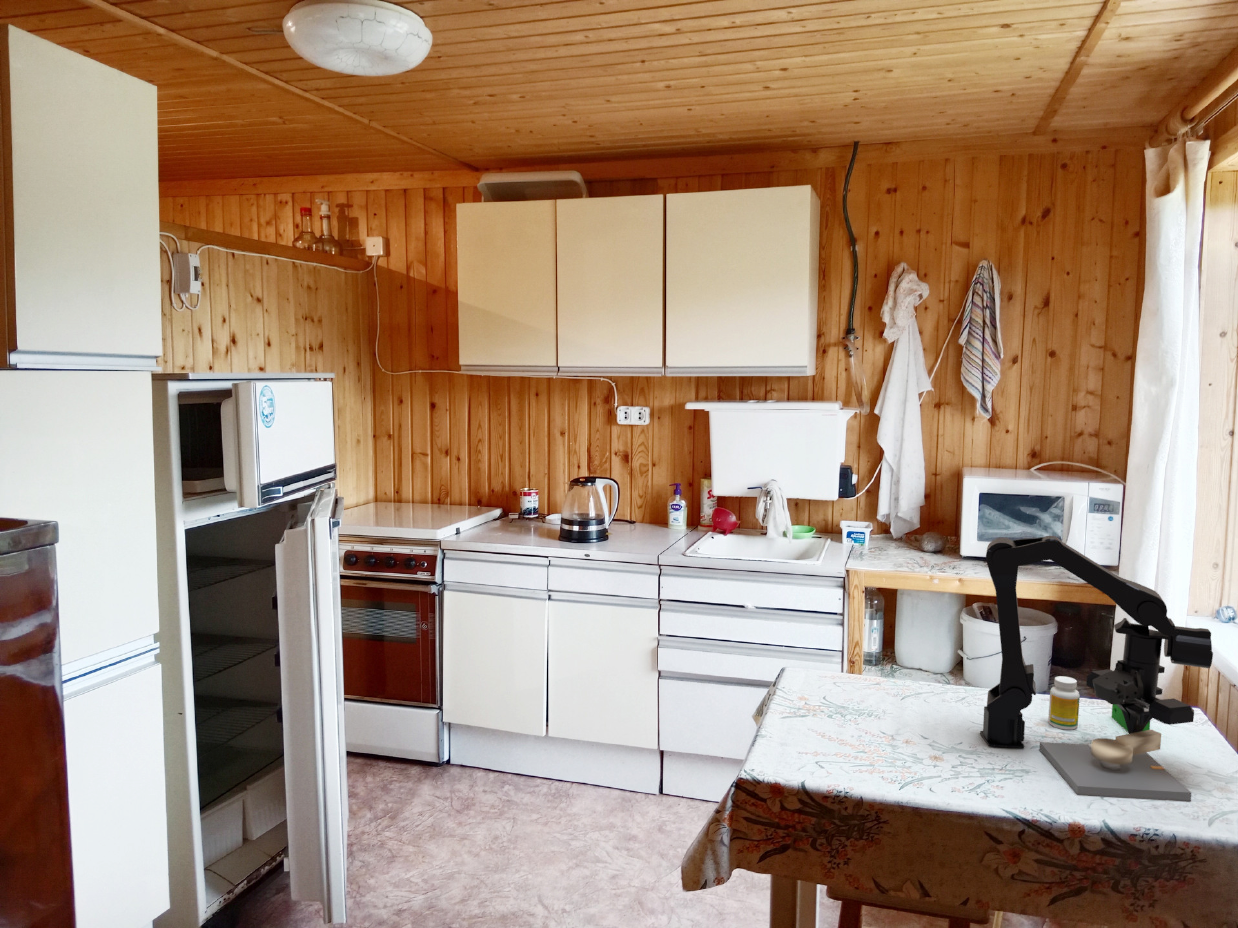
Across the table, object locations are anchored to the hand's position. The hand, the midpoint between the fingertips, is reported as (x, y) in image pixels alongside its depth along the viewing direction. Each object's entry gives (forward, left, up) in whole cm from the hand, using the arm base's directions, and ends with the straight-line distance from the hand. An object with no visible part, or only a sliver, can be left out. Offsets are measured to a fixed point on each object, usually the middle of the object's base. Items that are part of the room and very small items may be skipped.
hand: (1133, 739), depth 161 cm
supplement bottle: (-6, +16, -4) cm, 18 cm away
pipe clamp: (+7, +16, -5) cm, 18 cm away
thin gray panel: (-6, -6, -4) cm, 9 cm away
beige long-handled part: (-3, -4, -1) cm, 5 cm away
